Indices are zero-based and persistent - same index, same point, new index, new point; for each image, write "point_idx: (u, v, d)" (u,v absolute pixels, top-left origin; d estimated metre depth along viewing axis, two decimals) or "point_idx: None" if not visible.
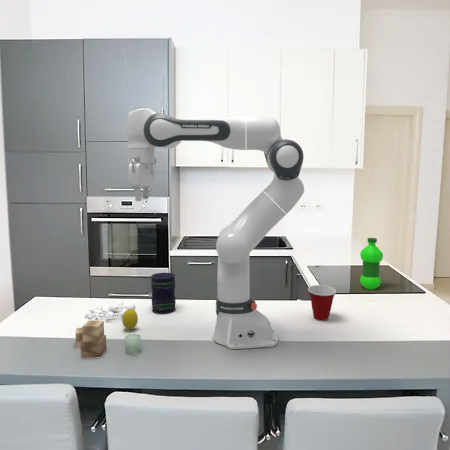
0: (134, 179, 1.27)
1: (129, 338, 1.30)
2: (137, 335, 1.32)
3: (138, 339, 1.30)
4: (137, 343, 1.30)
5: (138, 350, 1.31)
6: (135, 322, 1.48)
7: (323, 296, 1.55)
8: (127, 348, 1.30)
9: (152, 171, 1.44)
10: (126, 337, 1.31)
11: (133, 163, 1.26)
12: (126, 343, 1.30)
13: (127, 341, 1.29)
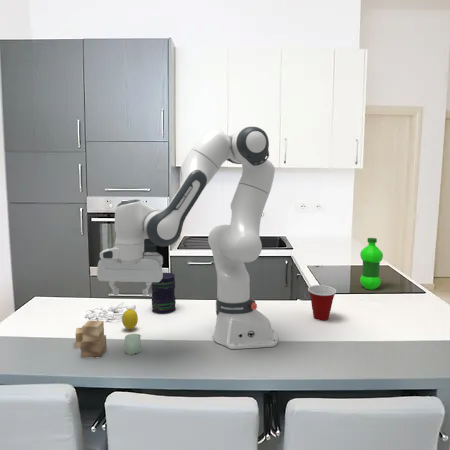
0: (161, 273, 1.28)
1: (129, 338, 1.30)
2: (137, 335, 1.32)
3: (138, 339, 1.30)
4: (137, 343, 1.30)
5: (138, 350, 1.31)
6: (135, 322, 1.48)
7: (323, 296, 1.55)
8: (127, 348, 1.30)
9: None
10: (126, 337, 1.31)
11: None
12: (126, 343, 1.30)
13: (127, 341, 1.29)
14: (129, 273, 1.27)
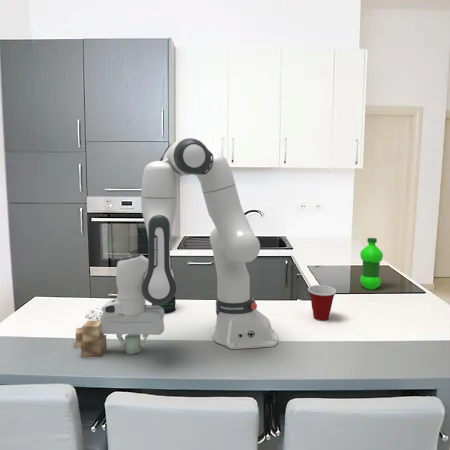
0: (163, 325, 1.31)
1: (129, 338, 1.30)
2: (137, 335, 1.32)
3: (138, 339, 1.30)
4: (137, 343, 1.30)
5: (138, 350, 1.31)
6: None
7: (323, 296, 1.55)
8: (127, 348, 1.30)
9: None
10: (126, 337, 1.31)
11: None
12: (126, 343, 1.30)
13: (127, 341, 1.29)
14: (131, 326, 1.29)
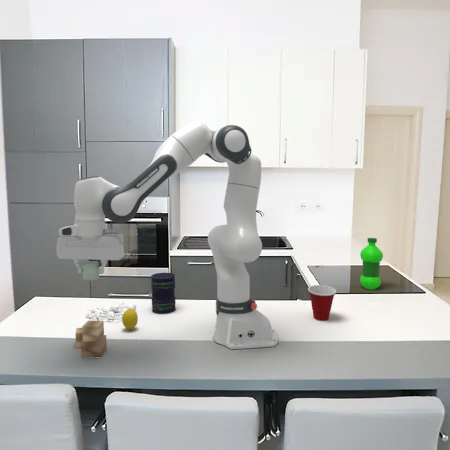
0: (122, 251, 1.26)
1: (86, 263, 1.25)
2: (96, 262, 1.28)
3: (96, 265, 1.26)
4: (95, 269, 1.26)
5: (96, 276, 1.26)
6: (135, 322, 1.48)
7: (323, 296, 1.55)
8: (84, 273, 1.25)
9: None
10: (84, 263, 1.26)
11: None
12: (84, 268, 1.25)
13: (84, 266, 1.25)
14: (89, 251, 1.25)
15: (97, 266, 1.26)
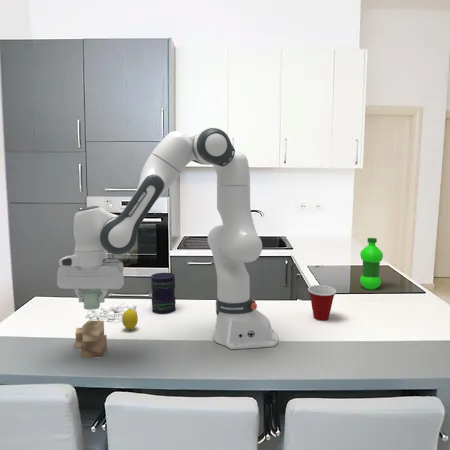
0: (122, 280, 1.27)
1: (87, 293, 1.26)
2: (96, 290, 1.29)
3: (96, 294, 1.27)
4: (95, 298, 1.27)
5: (96, 305, 1.27)
6: (135, 322, 1.48)
7: (323, 296, 1.55)
8: (85, 303, 1.26)
9: None
10: (84, 292, 1.27)
11: None
12: (84, 298, 1.26)
13: (85, 295, 1.26)
14: (89, 280, 1.26)
15: (97, 295, 1.27)
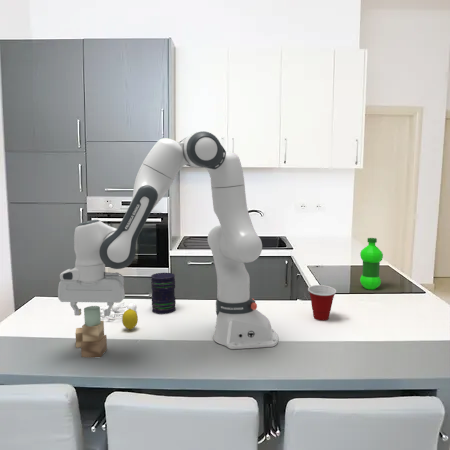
0: (123, 293, 1.28)
1: (88, 309, 1.27)
2: (97, 307, 1.30)
3: (97, 310, 1.28)
4: (96, 315, 1.27)
5: (97, 322, 1.28)
6: (135, 322, 1.48)
7: (323, 296, 1.55)
8: (86, 320, 1.27)
9: None
10: (85, 309, 1.28)
11: None
12: (85, 314, 1.27)
13: (86, 312, 1.27)
14: (90, 294, 1.26)
15: (98, 312, 1.28)
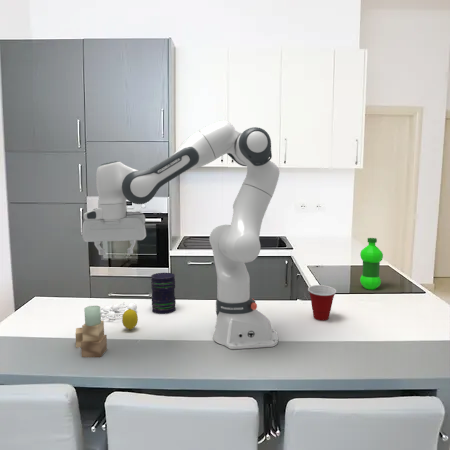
0: (145, 231, 1.33)
1: (88, 309, 1.27)
2: (97, 307, 1.30)
3: (97, 310, 1.28)
4: (96, 314, 1.28)
5: (98, 322, 1.28)
6: (135, 322, 1.48)
7: (323, 296, 1.55)
8: (86, 319, 1.27)
9: None
10: (85, 308, 1.28)
11: None
12: (85, 314, 1.27)
13: (86, 312, 1.27)
14: (113, 233, 1.31)
15: (99, 311, 1.28)
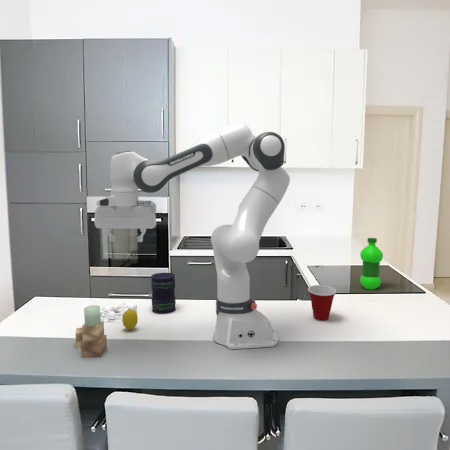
0: (155, 220, 1.37)
1: (88, 309, 1.27)
2: (97, 307, 1.29)
3: (97, 310, 1.28)
4: (96, 314, 1.27)
5: (97, 322, 1.28)
6: (135, 322, 1.48)
7: (323, 296, 1.55)
8: (86, 319, 1.27)
9: None
10: (85, 308, 1.28)
11: None
12: (85, 314, 1.27)
13: (85, 312, 1.27)
14: (124, 220, 1.35)
15: (98, 312, 1.28)
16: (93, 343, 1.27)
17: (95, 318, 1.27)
